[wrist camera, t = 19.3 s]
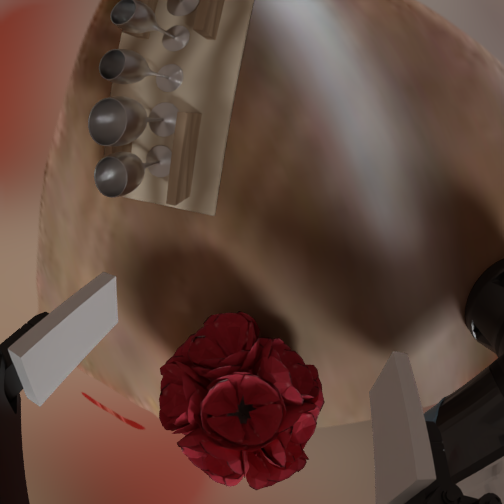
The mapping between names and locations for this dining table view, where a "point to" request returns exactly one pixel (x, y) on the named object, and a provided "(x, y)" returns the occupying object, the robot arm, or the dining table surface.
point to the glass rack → (189, 100)
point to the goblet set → (129, 110)
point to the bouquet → (240, 402)
